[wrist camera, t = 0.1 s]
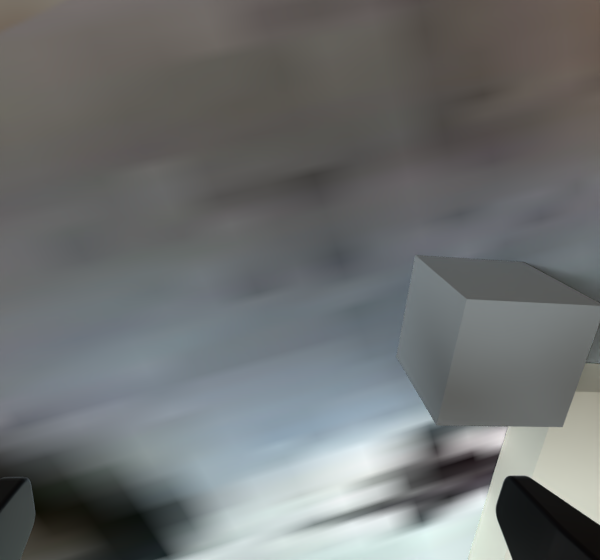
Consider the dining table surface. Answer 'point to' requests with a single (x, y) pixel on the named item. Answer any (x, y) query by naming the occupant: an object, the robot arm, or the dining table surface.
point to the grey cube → (494, 342)
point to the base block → (549, 464)
